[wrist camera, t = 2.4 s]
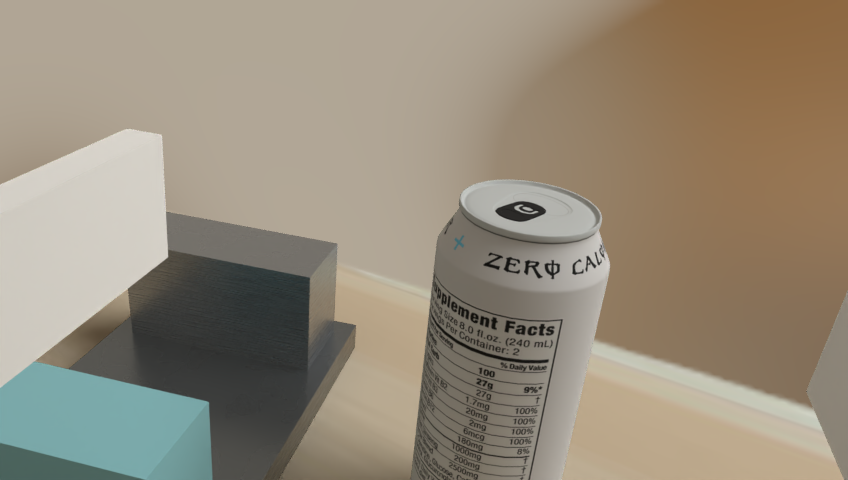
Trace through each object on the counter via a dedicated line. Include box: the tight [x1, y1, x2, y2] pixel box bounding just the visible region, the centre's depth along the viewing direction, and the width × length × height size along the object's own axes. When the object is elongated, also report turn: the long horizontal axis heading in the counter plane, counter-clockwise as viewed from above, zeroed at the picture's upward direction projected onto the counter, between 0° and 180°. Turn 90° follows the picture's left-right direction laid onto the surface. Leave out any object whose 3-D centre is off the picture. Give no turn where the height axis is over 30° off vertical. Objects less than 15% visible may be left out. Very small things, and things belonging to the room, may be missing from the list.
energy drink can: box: [411, 180, 610, 480], centre depth 28 cm, size 6×6×15 cm
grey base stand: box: [69, 212, 356, 480], centre depth 32 cm, size 12×22×7 cm, turn 167°
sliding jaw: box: [0, 361, 213, 480], centre depth 26 cm, size 10×4×6 cm, turn 77°
